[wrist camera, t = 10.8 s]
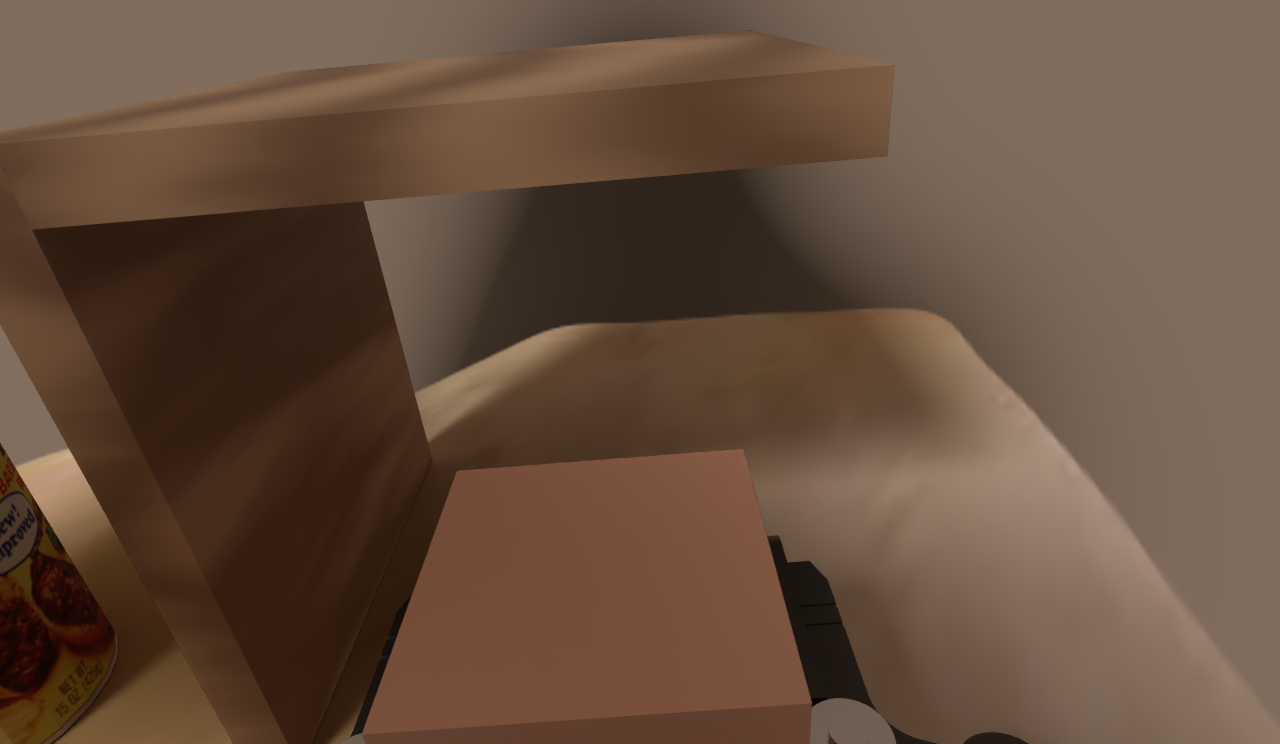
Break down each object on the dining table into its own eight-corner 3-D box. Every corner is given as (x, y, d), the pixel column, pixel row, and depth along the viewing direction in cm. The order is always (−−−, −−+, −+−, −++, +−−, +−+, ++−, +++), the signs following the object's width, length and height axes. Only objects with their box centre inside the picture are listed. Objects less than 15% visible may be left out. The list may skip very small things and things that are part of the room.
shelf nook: (249, 774, 20) (-96, 152, 12) (401, 462, 34) (287, 71, 26) (839, 733, 20) (894, 64, 12) (752, 435, 34) (750, 30, 25)
